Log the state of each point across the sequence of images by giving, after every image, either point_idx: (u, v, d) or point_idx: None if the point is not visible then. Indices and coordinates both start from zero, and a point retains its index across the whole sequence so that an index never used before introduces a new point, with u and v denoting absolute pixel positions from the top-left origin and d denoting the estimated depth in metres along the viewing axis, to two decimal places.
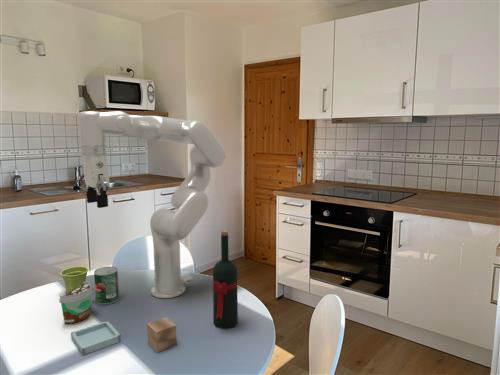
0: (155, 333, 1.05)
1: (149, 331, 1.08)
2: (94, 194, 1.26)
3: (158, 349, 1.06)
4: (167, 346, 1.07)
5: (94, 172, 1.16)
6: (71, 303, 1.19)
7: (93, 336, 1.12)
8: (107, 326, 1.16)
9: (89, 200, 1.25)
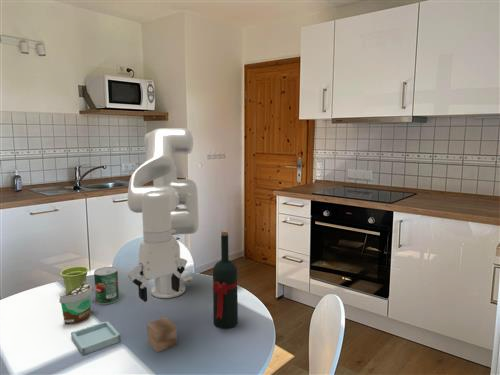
0: (155, 333, 1.05)
1: (149, 331, 1.08)
2: None
3: (158, 349, 1.06)
4: (167, 346, 1.07)
5: (176, 255, 1.07)
6: (71, 303, 1.19)
7: (93, 336, 1.12)
8: (107, 326, 1.16)
9: None
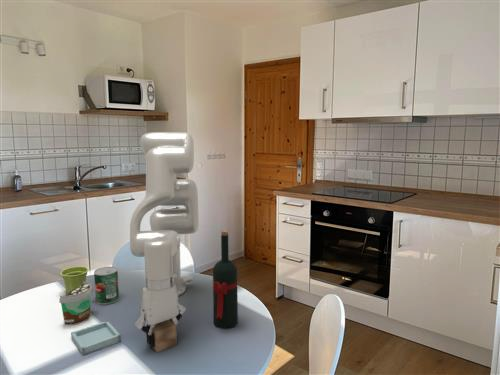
0: (155, 333, 1.05)
1: None
2: None
3: (158, 349, 1.06)
4: (167, 346, 1.07)
5: (178, 299, 1.09)
6: (71, 303, 1.19)
7: (93, 336, 1.12)
8: (107, 326, 1.16)
9: None
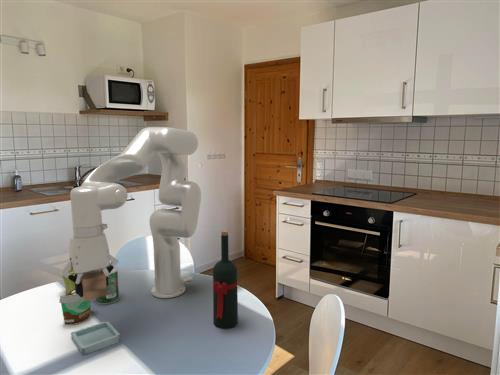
0: (82, 282, 1.04)
1: None
2: None
3: (86, 298, 1.05)
4: (96, 296, 1.07)
5: (108, 250, 1.09)
6: (71, 303, 1.19)
7: (93, 336, 1.12)
8: (107, 326, 1.16)
9: None
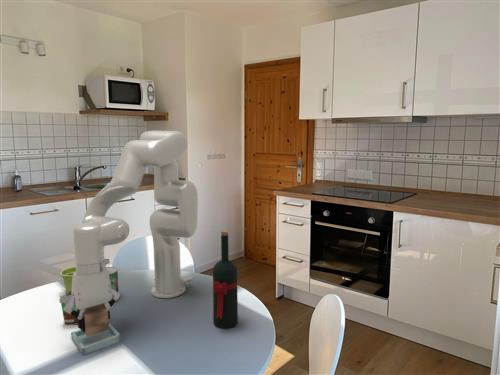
0: (85, 317, 1.06)
1: None
2: None
3: (88, 333, 1.06)
4: (98, 331, 1.08)
5: (110, 284, 1.10)
6: None
7: (93, 336, 1.12)
8: None
9: None
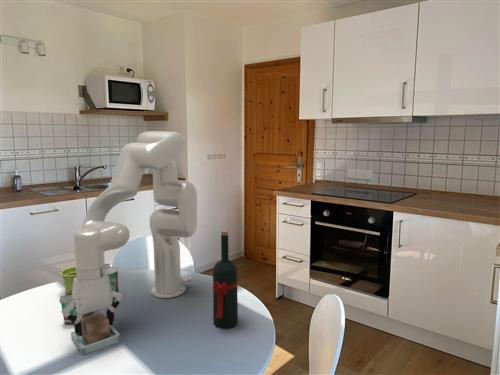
0: (86, 327, 1.07)
1: (82, 326, 1.10)
2: None
3: (89, 343, 1.07)
4: (99, 340, 1.09)
5: None
6: None
7: None
8: None
9: None
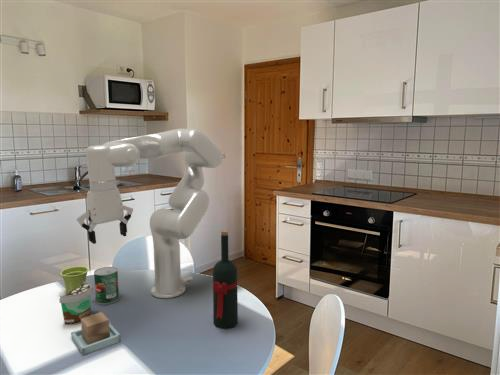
0: (86, 327, 1.07)
1: (82, 326, 1.10)
2: None
3: (89, 343, 1.07)
4: (99, 340, 1.09)
5: None
6: (71, 303, 1.19)
7: None
8: None
9: None
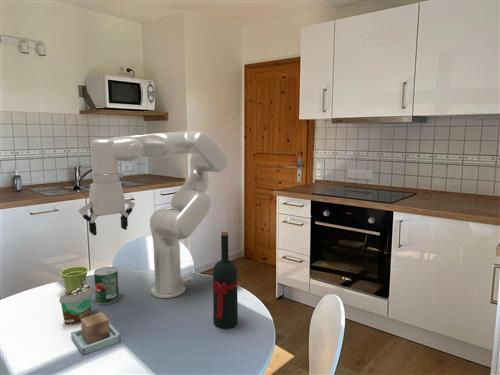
0: (86, 327, 1.07)
1: (82, 326, 1.10)
2: None
3: (89, 343, 1.07)
4: (99, 340, 1.09)
5: (123, 196, 1.22)
6: (71, 303, 1.19)
7: None
8: None
9: None
